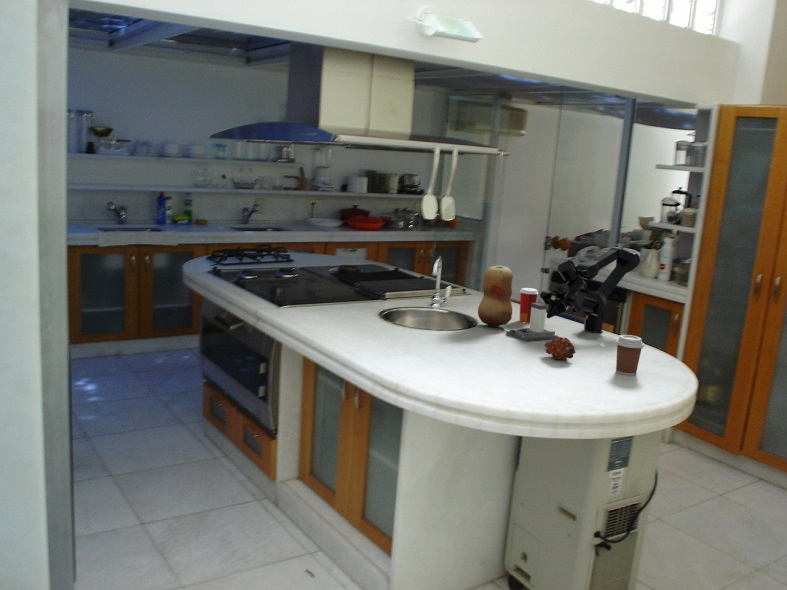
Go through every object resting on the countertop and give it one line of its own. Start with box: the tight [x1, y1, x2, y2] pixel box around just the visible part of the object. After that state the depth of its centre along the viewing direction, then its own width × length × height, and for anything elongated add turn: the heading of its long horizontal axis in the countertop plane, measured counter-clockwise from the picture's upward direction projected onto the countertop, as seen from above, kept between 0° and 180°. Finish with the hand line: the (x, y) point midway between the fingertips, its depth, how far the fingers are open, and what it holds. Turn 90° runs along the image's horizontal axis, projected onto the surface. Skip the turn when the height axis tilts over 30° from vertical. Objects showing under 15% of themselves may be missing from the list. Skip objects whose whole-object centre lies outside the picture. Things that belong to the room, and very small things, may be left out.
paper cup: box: [519, 287, 539, 324], centre depth 308 cm, size 8×8×14 cm
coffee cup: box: [615, 334, 645, 376], centre depth 240 cm, size 9×9×12 cm
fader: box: [526, 302, 548, 333], centre depth 282 cm, size 6×5×12 cm
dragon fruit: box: [544, 336, 576, 362], centre depth 252 cm, size 8×8×12 cm
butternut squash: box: [477, 265, 514, 328], centre depth 293 cm, size 14×13×25 cm
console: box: [505, 327, 559, 343], centre depth 282 cm, size 16×12×2 cm
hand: (547, 317), depth 285 cm, fingers closed
